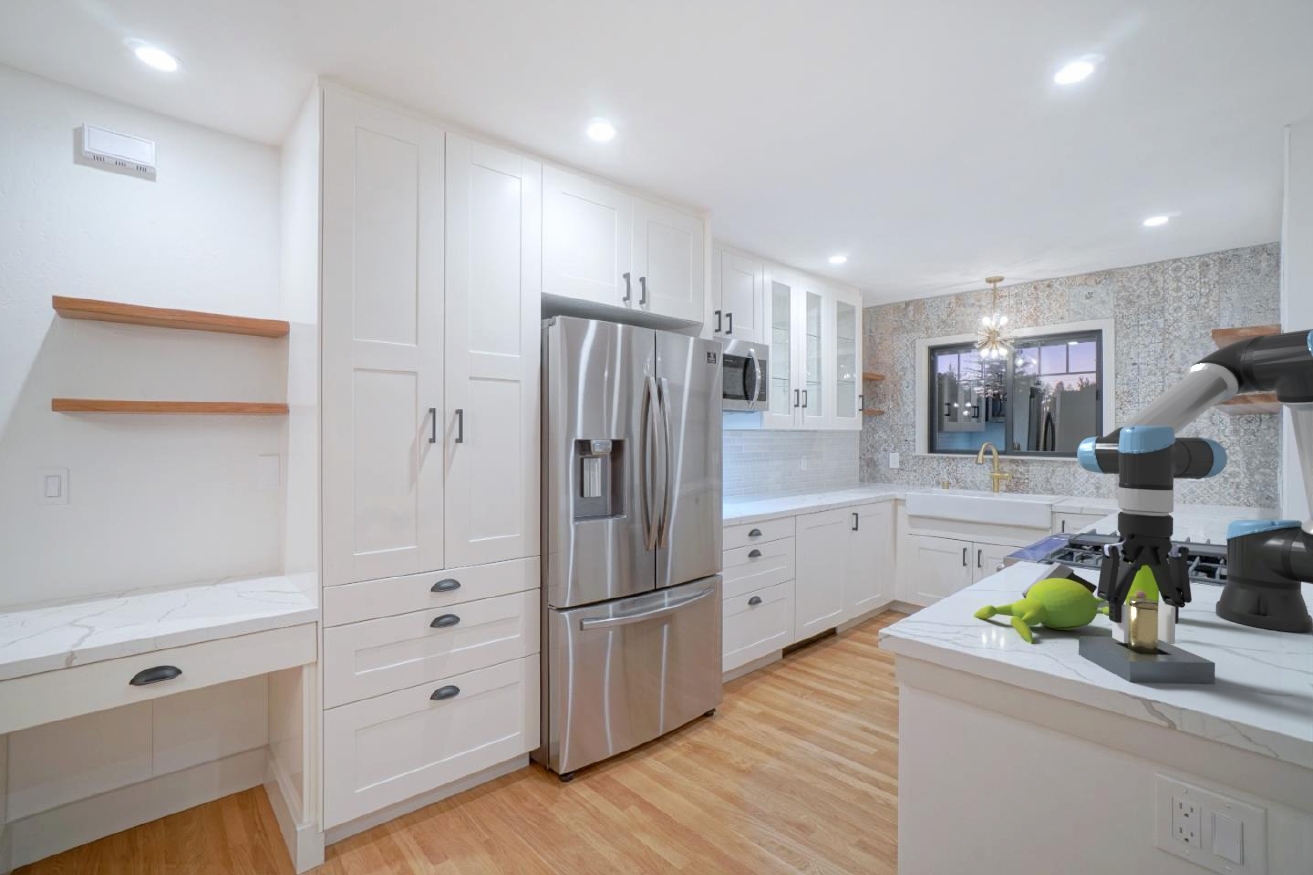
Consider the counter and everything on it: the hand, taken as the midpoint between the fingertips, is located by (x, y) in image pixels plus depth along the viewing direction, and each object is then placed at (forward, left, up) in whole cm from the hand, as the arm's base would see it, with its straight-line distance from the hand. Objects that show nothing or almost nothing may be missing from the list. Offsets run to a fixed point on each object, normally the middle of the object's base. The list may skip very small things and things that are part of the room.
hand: (1143, 640), depth 102 cm
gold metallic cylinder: (0, 0, -5) cm, 5 cm away
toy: (0, -22, -5) cm, 23 cm away
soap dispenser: (-25, -32, -5) cm, 41 cm away
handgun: (-14, -43, -5) cm, 45 cm away
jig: (0, 0, -5) cm, 5 cm away
